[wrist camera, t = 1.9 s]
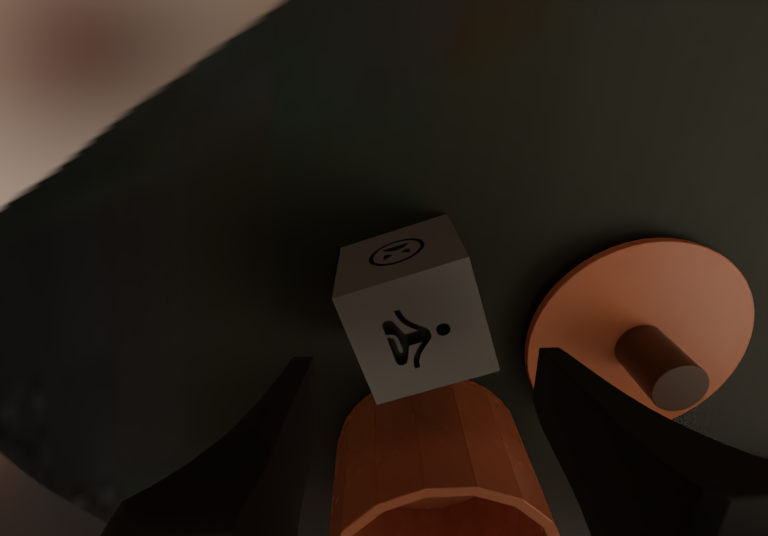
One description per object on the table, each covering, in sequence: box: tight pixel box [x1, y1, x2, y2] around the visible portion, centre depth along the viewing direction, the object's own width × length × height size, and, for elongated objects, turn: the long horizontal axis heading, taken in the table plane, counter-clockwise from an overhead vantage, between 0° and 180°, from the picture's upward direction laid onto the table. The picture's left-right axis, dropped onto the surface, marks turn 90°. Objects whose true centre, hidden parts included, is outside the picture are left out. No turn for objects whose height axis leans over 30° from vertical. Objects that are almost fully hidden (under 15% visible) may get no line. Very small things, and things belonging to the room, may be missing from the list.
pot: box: [329, 380, 560, 536], centre depth 22 cm, size 10×10×7 cm
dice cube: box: [332, 214, 500, 405], centre depth 19 cm, size 5×5×5 cm
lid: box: [524, 238, 754, 419], centre depth 21 cm, size 11×11×4 cm
